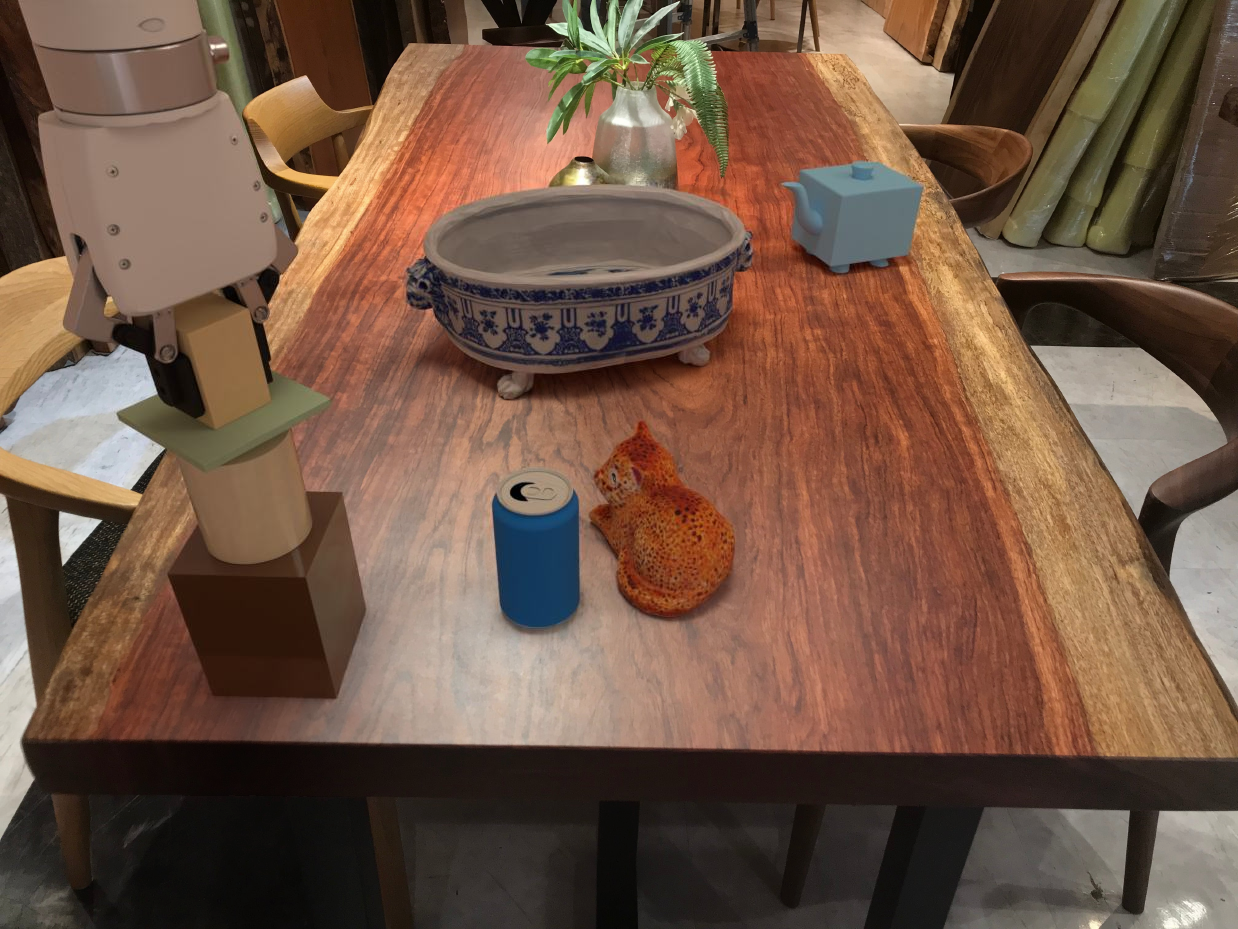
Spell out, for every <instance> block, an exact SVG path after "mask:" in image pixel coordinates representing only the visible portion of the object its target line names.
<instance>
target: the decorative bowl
mask: <svg viewBox="0 0 1238 929" xmlns="http://www.w3.org/2000/svg"><path fill="white" fill-rule="evenodd" d="M753 238H754V232H753V231H746V228H745V224H744V222H743V221H742V220H741V219H740V217H739V216H738V215H737V214H736V213H735V212H733V211H732V210H731V209H730V208H728V207H727V206H725V205H722V204H721V203H718V202H717V201H714V200H713V199H712V200H711V199H709V198H706V197H702V196H699V195H697V194H695V193H694V194H693V193H690V192H685V191H679V190H675V189H670V188H664V187H658V186H657V187H656V186H649V185H636V184H635V185H633V184H613V183H611V184H610V183H609V184H605V183H603V184H574V185H573V184H572V185H560V186H559V185H558V186H547V187H539V188H533V189H524V190H517V191H514V192H513V191H512V192H506V193H502V194H497V195H496V194H495V195H491V196H487V197H484V198H480V199H476V200H473V201H471V202H467V203H465V204H462V205H459V206H457V207H455V208H454V209H452V210H449V211H448V212H446V213H444V214H443V215H441V216H440V217H439V218H437V219H436V220H435V221H434V222H433V223H432V224H431V226H430V227H429V228H428V230H427V232H426V234H425V237H424V239H423V243H422V244H423V253H424V256H423V258H418V259H417V260H416V261H415V262H414V263H413V264H412V266H410V267H407V268H406V269H405V273H406V275H407V276H408V278H407V279H406V280H405V281H404V286H405V299H404V302H405V303H406V304H408V305H409V306H410V307H411V308H412V309H415V310H420V311H427V310H431V309H432V312H433V315H434V317H435V319H436V320H437V322H438V323H439V325H441V327H442V328H443V330H444V332H445V334H446V336H447V337H448V339H449V341H451V343H453V345H454V346H455V347H457V348H458V349H459V350H461V351H462V352H463V353H465V354H466V355H468V357H471V358H472V359H475V360H477V361H480V362H482V363H484V364H486V365H489V366H491V367H494V368H499V369H502V370H507V371H508V370H509V371H512V372H509V373H507V374H504V375H503V376H501V377H500V379H498V380H497V385H496V389H497V393H498V396H500V397H503V399H505V400H513V399H516V398H518V397H521V396H522V395H523V394H524V393H527V392H529V391H530V390H531V389H532V388H533V387H534V382H535V374H549V375H551V374H565V373H572V372H573V373H574V372H579V371H586V370H593V369H599V368H604V367H610V366H616V365H621V364H627V363H632V362H640V361H645V360H651V359H657V358H661V357H665V356H669V355H673V354H676V353H677V357H678V360H679V361H680V362H681V363H683V364H685V365H686V364H692V365H694V366H698V367H702V366H705V365H708V364H709V360H710V357H711V351H710V350H709V349H707V348H706V347H705V345H704V343H706V342H708V341H711V340H712V339H714V338H715V337H717V336H718V335H719V334H721V333H722V332H723V331H724V330H725V329H726V326H727V325H728V322H729V318H730V316H731V314H732V310H733V306H734V299H733V295H734V283H735V282H734V281H735V276H736V273H744V272H746V271H748V270H749V269H750V268H751V266H752V263H753V262H754V258H753V255H754V253H755V249H754V248H753V247H752V245H751V239H753Z"/></svg>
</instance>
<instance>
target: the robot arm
mask: <svg viewBox="0 0 1238 929" xmlns="http://www.w3.org/2000/svg"><path fill="white" fill-rule="evenodd" d="M17 1H18V5H19V8H20V11H21V15H22V17H23V19H24V22H25V26H26V28H27V32H28V34H29V37H30V40H31V44H32V48H33V52H34V53H35V57H36V60H37V62H38V66H39V68H40V72H41V75H42V78H43V81H44V83H45V86H46V89H47V93H48V95H49V98H50V101H51V103H52V107H53V109H52V110H49V111H45V112H42V113H40V114H39V115H38V117H37V124H38V135H39V143H40V151H41V157H42V162H43V170H44V175H45V179H46V185H47V191H48V194H49V199H50V203H51V208H52V211H53V215H54V219H55V223H56V226H57V231H58V234H59V237H60V241H61V245H62V249H63V252H64V255H65V258H66V262H67V265H68V268H69V270H70V273H71V275H72V276H71V277H72V278H73V282H72V285H71V289H70V293H69V297H68V300H67V304H66V307H65V312H64V316H63V318H62V327H63V328H64V330H66V331H67V332H68V333H70V334H72V335H74V336H76V337H78V338H80V339H84V340H89V341H96V342H102V343H107V344H114V345H115V344H116V345H120V346H122V347H124V348H126V349H130V350H133V351H134V352H137V353H139V354H142V355H144V357H145V361H146V363H147V366H148V370H149V373H150V376H151V378H152V382H153V384H154V387H155V390H156V394H158V395H159V397H160V399H161V400H162V401H163V402H164V403H165V404H166V405H168V406H170V407H175V408H177V409H179V410H180V411H182V412H184V413H186V414H187V415H189V416H191V417H193V418H194V419H197V418H199V417H201V416H203V415H204V412H205V407H204V404H203V401H202V397H201V394H200V391H199V387H198V384H197V381H196V377H195V374H194V371H193V367H192V364H191V361H190V359H189V358H188V357H187V356H185V355H183V354H181V353H179V349H178V345H177V335H176V325H175V315H174V306H176V305H179V304H182V303H184V302H187V301H190V300H192V299H195V298H198V297H200V296H203V295H205V294H208V293H210V292H212V293H214V292H215V291H217V292H218V294H219V296H221V297H223V298H225V299H227V300H230V301H232V302H234V303H236V304H238V305H241V306H243V307H245V308H247V309H249V311H250V315H251V320H252V324H253V328H254V332H255V336H256V340H257V344H258V348H259V352H260V356H261V360H262V364H263V368H264V372H265V376H266V380H267V384H269V383H271V382H273V377H272V373H271V370H272V369H271V365H270V364H271V363H270V362H271V361H272V355H271V350H270V346H269V342H268V338H267V334H266V333H267V332H266V329H265V325H264V323H266V322H267V321H268V319H269V318H270V314H271V311H270V307H269V304H270V302H271V301H272V298H273V296H274V295H275V292H276V290H277V288H278V286H279V284H280V281H281V278H280V277H281V276H283V275H284V274H285V273H286V271H287V270H288V269H289V267H290V266H291V264H292V263H293V262H294V261H295V259H296V258H297V257H298V254H299V247H298V246H297V244H296V243H295V242H294V241H293V240H292V239H291V238H290V237H289V236H288V235H287V234H286V233H285V232H284V231H283V230H282V229H281V228H280V227H279V226H278V225H277V224H276V223H275V222H274V219H273V215H272V211H271V208H270V203H269V199H268V196H267V192H266V187H265V185H264V181H263V179H262V175H261V171H260V169H259V166H258V163H257V160H256V158H255V154H254V152H253V149H252V146H251V143H250V141H249V138H248V136H247V133H246V130H245V129H244V128H245V127H244V126H243V124H242V120H240V117H239V115H238V113H237V111H236V107H235V106H234V104H233V102H232V100H231V98H230V96H229V94H227V93H226V92H225V91H223V90H220V89H218V87H217V84H218V82H219V81H218V76H217V72H216V67H218V64H223V63H227V62H228V61H229V60H230V49H229V46H228V44H227V42H226V40H225V39H224V38H223V37H222V36H221V35H220V34H216V35H208V34H207V30H206V29H205V28H204V27H203V23H202V19H201V15H200V10H199V6H198V1H197V0H17ZM110 297H111V299H112V302H113V304H114V305H115V306H114V307H115V308H116V309H117V310H118V312H119V313H120V314H122V315H123V316H126V320H127V321H126V320H124V319H121V318H119V317H115V316H106V315H105V308H106V305H107V301H108V298H110Z"/></svg>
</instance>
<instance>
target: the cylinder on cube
mask: <svg viewBox="0 0 1238 929" xmlns="http://www.w3.org/2000/svg"><path fill="white" fill-rule="evenodd" d="M295 442H296V441H295V438H294V434H293V429H292V428H290V429H288V430H286V431H284V432H282V433H280V434H278V435H277V436H275V437H273V438H271V439H269V440H267V441H265V442H263V443H262V444H260V445H258V446H256V447H254V448H252V449H250V450H249V451H247V452H245V453H243V454H241V455H239V456H237V457H235V458H234V459H232V460H230V461H228V462H226V463H224V464H222V465H220V466H219V467H217V468H215V469H213V470H211V471H209V472H207V473H205V472H203V471H201V470H200V469H198V468H196V467H195V466H193V465H192V464H190V463H188V462H187V461H185V460H183V459H182V458H180V457H178V456H177V455H175V458H176V461H177V464H178V467H179V470H180V474H181V476H182V480H183V483H184V485H185V488H186V491H187V494H188V497H189V500H190V503H191V506H192V509H193V512H194V516H195V519H196V521H197V524H196V526H195V527H194V529H193V530H192V532H191V534H190V536H189V537H188V539H187V541H186V542H185V543H184V545H183V546H182V548H181V550H180V551H179V553H178V555H177V556H176V558H175V560H174V561H173V563H172V565H171V566H170V568H169V569H168V571H167V573H166V575H167V578H168V581H169V584H170V586H171V589H172V592H173V594H174V597H175V599H176V601H177V605H178V608H179V610H180V612H181V615H182V618H183V621H184V623H185V626H186V628H187V631H188V634H189V637H190V640H191V642H192V644H193V646H194V650H195V652H196V655H197V658H198V660H199V663H200V667H201V669H202V671H203V674H204V676H205V679H206V681H207V684H208V687H209V690H210V693H211V694H212V696H235V697H236V696H237V697H271V698H273V697H274V698H275V697H277V698H310V699H312V698H313V699H337V697H338V694H339V691H340V688H341V686H342V682H343V679H344V678H345V674H346V671H347V669H348V668H347V667H348V666H349V662H350V659H351V656H352V653H353V649H354V646H355V644H356V641H357V638H358V635H359V632H360V629H361V626H362V624H363V620H364V617H365V614H366V611H367V606H366V600H365V597H364V596H365V595H364V590H363V585H362V581H361V577H360V572H359V567H358V562H357V557H356V552H355V547H354V542H353V538H352V532H351V526H350V522H349V517H348V513H347V509H346V504H345V498H344V494H343V491H321V490H320V491H317V490H316V491H315V490H306V486H305V480H304V476H303V473H302V468H301V464H300V460H299V456H298V452H297V447H296V443H295Z"/></svg>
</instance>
